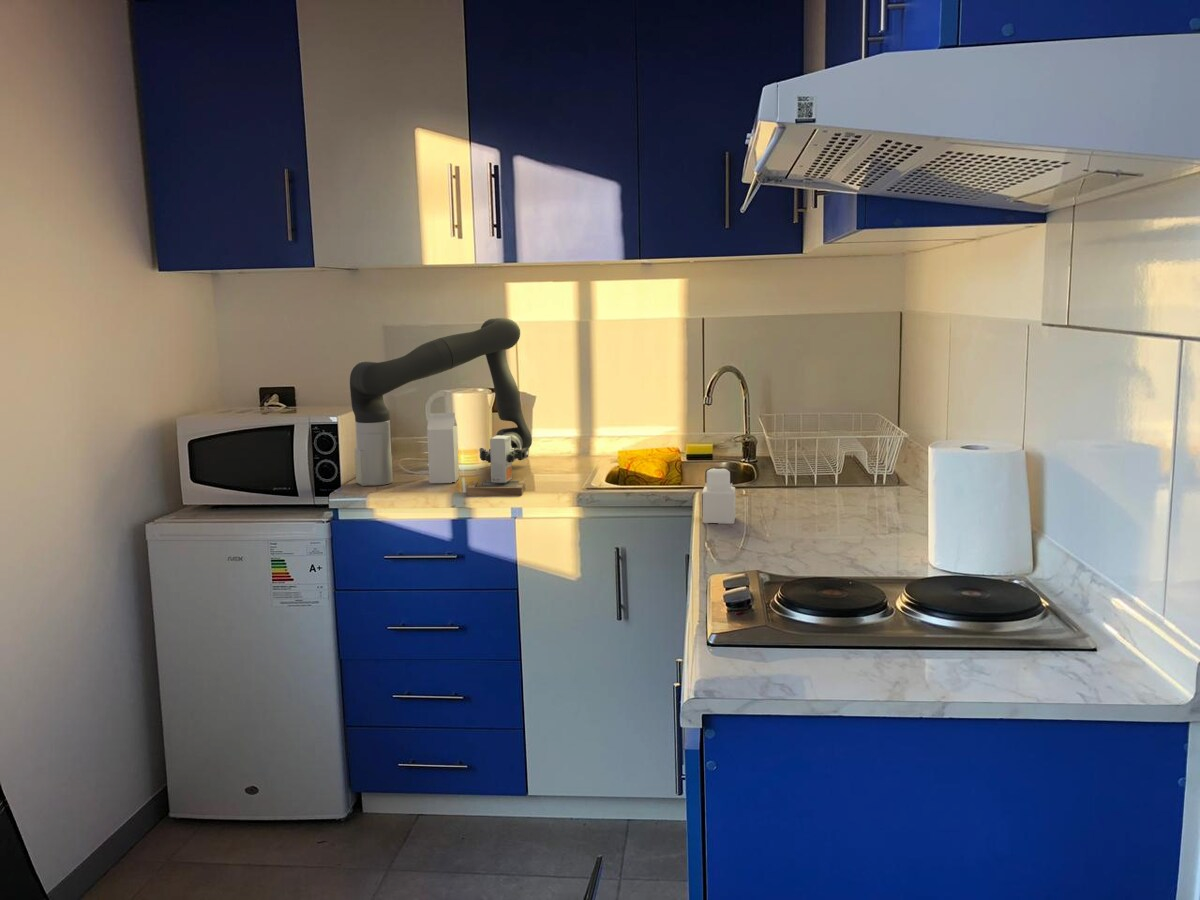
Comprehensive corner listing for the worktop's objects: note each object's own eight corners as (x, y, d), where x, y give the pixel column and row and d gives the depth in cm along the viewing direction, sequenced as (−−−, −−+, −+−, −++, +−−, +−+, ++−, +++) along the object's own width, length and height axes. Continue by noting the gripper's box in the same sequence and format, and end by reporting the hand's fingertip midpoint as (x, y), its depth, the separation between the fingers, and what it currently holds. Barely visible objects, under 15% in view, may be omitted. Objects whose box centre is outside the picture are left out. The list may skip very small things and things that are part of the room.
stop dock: (478, 482, 287) (477, 475, 287) (529, 482, 287) (528, 474, 286) (467, 496, 269) (466, 488, 268) (521, 495, 268) (521, 487, 268)
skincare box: (506, 483, 279) (504, 438, 277) (490, 482, 280) (489, 438, 278) (512, 478, 285) (511, 435, 283) (497, 478, 286) (496, 435, 284)
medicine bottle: (703, 516, 240) (703, 465, 238) (735, 517, 239) (735, 465, 237) (701, 523, 233) (701, 470, 232) (734, 524, 232) (734, 471, 230)
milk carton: (455, 483, 286) (452, 414, 283) (429, 484, 286) (426, 414, 283) (459, 478, 293) (456, 411, 290) (433, 479, 293) (431, 411, 290)
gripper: (481, 435, 295) (472, 445, 279) (532, 434, 295) (525, 444, 278) (482, 461, 297) (473, 472, 280) (532, 461, 296) (526, 472, 279)
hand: (499, 458), depth 279 cm, fingers closed on skincare box, 5 cm apart
